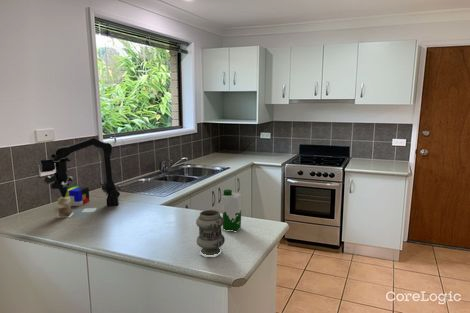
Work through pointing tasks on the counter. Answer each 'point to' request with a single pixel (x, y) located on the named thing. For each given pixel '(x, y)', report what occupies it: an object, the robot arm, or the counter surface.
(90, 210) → the mat
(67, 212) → the walnut cube
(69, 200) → the maple cube
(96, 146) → the robot arm
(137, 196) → the counter surface
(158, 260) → the counter surface
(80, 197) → the puzzle toy
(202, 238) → the apothecary jar
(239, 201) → the milk carton
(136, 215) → the counter surface
